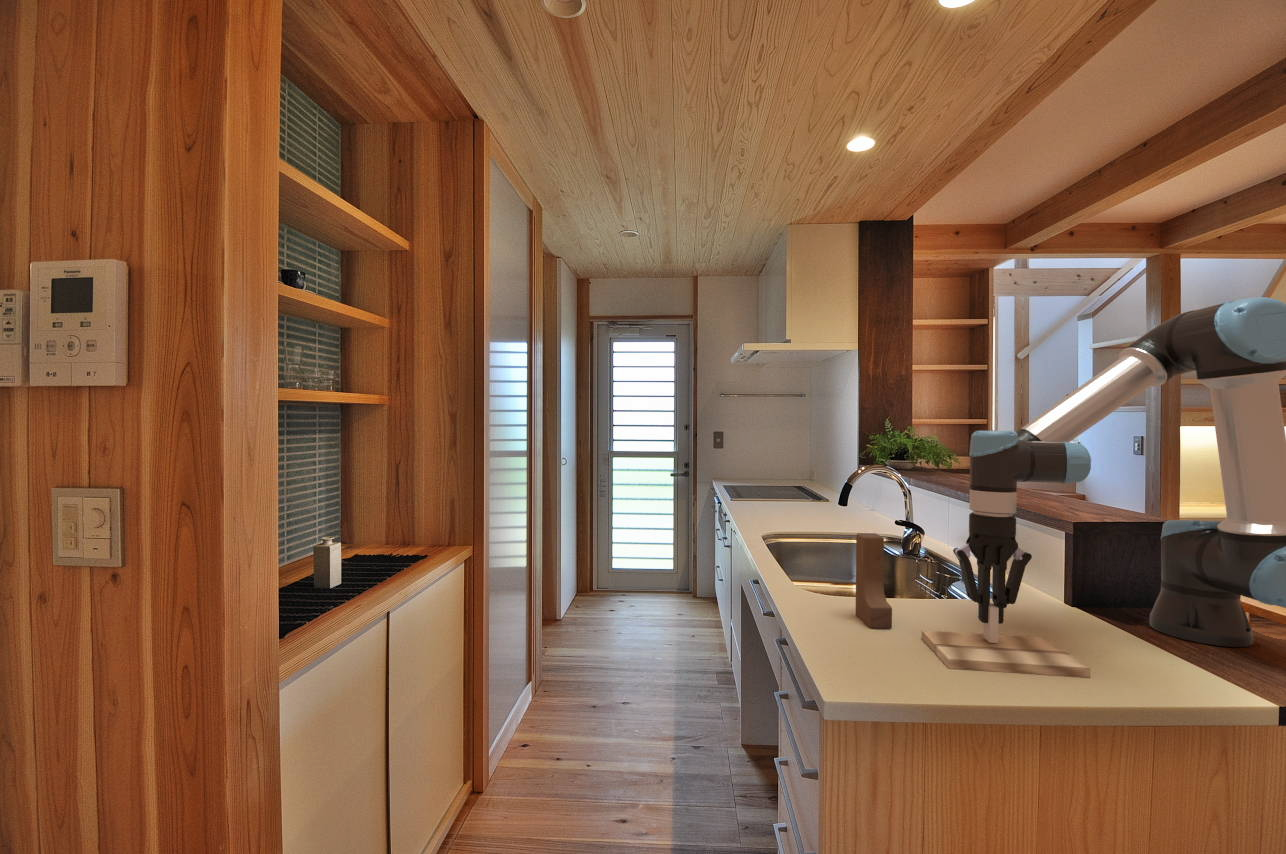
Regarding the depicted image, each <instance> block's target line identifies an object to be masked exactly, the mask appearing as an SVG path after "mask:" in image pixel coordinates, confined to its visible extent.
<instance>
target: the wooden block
mask: <svg viewBox="0 0 1286 854" xmlns="http://www.w3.org/2000/svg"><path fill="white" fill-rule="evenodd" d="M855 536H856V544H855V547H856V549H855V552H856V553H855V556H856V559H855V565H856V566H855V615H856V617H858V618H859V620H861V621H862V622H863V623H864V624H865V625H866V626H868V627H869V629H874V630H875V629H876V630H879V629H880V630H881V629H884V630H891V629H892V628H893V608H892V606H891V604H889V602H888V601H887V599H886V595H885V587H884V585H885V584H884V568H885V567H884V561H885V560H884V557H885V556H884V555H885V552H884V551H885V550H884V549H885V548H884V547H885V544H884V543H885V539H884V537H883V536H881V535H879V534H878V533H870V532H869V533H868V532H867V533H862V532H859V533H856V535H855Z"/></svg>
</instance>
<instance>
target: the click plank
mask: <svg viewBox="0 0 1286 854" xmlns="http://www.w3.org/2000/svg"><path fill="white" fill-rule="evenodd" d="M921 640H923V641H924V642H925V644H926V645H927V646H928V647H929V648H930V649H931V650H932V652H933V653H935V645H950V646H966V647H983V648H999V649H1016V650H1032V651H1049V652H1065V653H1067V652H1066V650H1063V648H1060V647H1059V646H1058V645H1056V644H1055V643H1053V642H1052V641H1051V640H1049V639H1048V638H1046V637H1042V636H1024V635H1006V634H998V643H989V642H988V641H987V640H986V639H985V638H983V633H974V632H973V633H972V632H956V631H954V632H953V631H940V630H939V631H938V630H921Z"/></svg>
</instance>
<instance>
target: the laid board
mask: <svg viewBox="0 0 1286 854" xmlns="http://www.w3.org/2000/svg"><path fill="white" fill-rule="evenodd" d="M1065 652H1066V651H1065ZM1065 652H1049V651H1032V650H1016V649H999V648H983V647H966V646H950V645H935V652H934V653H935V655H936V656H937V657H938V658H939V660H940V661H941V662H942V663H943V664H944V665H945V666H946V667H947V668H948V669H952V670H955V669H956V670H970V671H983V672H984V671H985V672H1000V673H1001V672H1002V673H1014V674H1015V673H1016V674H1027V675H1028V674H1031V675H1044V676H1045V675H1047V676H1062V677H1075V678H1076V677H1077V678H1090V679H1091V667H1090V666H1089V665H1087V664H1085V663H1083V662H1082V661H1081V660H1080V659H1077V658H1076V657H1074V656H1073V655H1072V654H1070V653H1069V652H1066V653H1065Z"/></svg>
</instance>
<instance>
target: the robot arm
mask: <svg viewBox="0 0 1286 854" xmlns="http://www.w3.org/2000/svg"><path fill="white" fill-rule="evenodd" d="M1194 371H1195V373H1196V374H1195V375H1196V380H1197V382H1198V383H1200V384H1201V385H1203V386H1205V387H1207V388H1208V389H1209V392H1210V398H1211V406H1212V407H1211V408H1212V413H1213V422H1214V423H1213V424H1214V430H1215V436H1216V443H1217V451H1218V459H1219V466H1220V475H1221V480H1222V481H1221V482H1222V489H1223V496H1224V504H1225V505H1224V506H1225V513H1226V517H1225V518H1224V519H1223V520H1201V519H1199V520H1197V519H1196V520H1193V519H1191V520H1190V519H1169V520H1167V521H1165V522H1163V524H1162V528H1161V536H1160V549H1161V550H1160V555H1161V556H1160V560H1161V562H1160V564H1161V565H1160V570H1161V571H1160V576H1161V577H1160V578H1161V579H1160V580H1161V581H1160V590H1159V591H1160V592H1159V594H1158V597H1157V598H1156V600H1155V602H1154V605H1153V608H1152V610H1151V611H1150V613H1149V626H1150V627H1151V628H1152V629H1153V630H1155V631H1157V632H1159V633H1163V634H1165V635H1166V636H1167V635H1168V636H1171V637H1173V638H1174V637H1175V638H1178V639H1181V640H1186V641H1189V642H1195V643H1199V644H1205V645H1211V646H1217V647H1218V646H1220V647H1226V648H1227V647H1229V648H1230V647H1231V648H1244V647H1251V646H1252V645H1253V644H1254V631H1253V629H1252V627H1251V624H1250V622H1249V619H1248V617H1247V614H1246V612H1245V609H1244V606H1243V605H1242V599H1241V598H1242V597H1244V598H1248V599H1252V600H1255V601H1258V602H1259V603H1261V604H1263V605H1269V606H1276V607H1280V608H1285V609H1286V429H1285V421H1284V415H1283V406H1282V400H1281V394H1280V393H1281V392H1280V386H1279V385H1280V384H1279V382H1280V381H1281V380H1282V379H1283V378H1284V377H1285V376H1286V303H1285V302H1284V301H1282V300H1280V299H1276V298H1273V297H1264V296H1260V297H1259V296H1258V297H1257V296H1256V297H1250V298H1243V299H1241V298H1239V299H1236V300H1232V301H1227V302H1224V303H1220V304H1216V305H1211V306H1208V307H1204V308H1200V309H1196V310H1195V309H1194V310H1190V311H1185V312H1182V313H1180V314H1177V315H1174V316H1172V317H1171V318H1169V319H1167V320H1165V321H1163V322H1161V323H1159V324H1158V325H1157V326H1155V327H1154V328H1152V329H1151V330H1149V331H1147V332H1146V333H1145V334H1144V335H1142V336H1141V337H1139V338H1138V339H1136V340H1135V341H1134V342H1131V344H1129V345H1128V346H1126V347H1125V348H1123V349H1122V350H1121V351H1120V352H1119V354H1118V359H1117V360H1116V361H1115V362H1113V363H1112V364H1110V365H1109V366H1107V367H1106V368H1104V369H1103V370H1102V371H1100V372H1099V373H1097V374H1096V375H1094V376H1093V377H1092V378H1091V379H1088V381H1086V382H1085V383H1084V384H1082V385H1081V386H1079V387H1078V388H1076V389H1075V390H1073V391H1072V392H1070V393H1069V394H1068V395H1067V396H1065V397H1063V398H1062V399H1060V400H1059V401H1058V402H1056V403H1055V404H1054V405H1052V406H1051V407H1050V408H1048V409H1046V410H1045V411H1044V412H1042V413H1041V414H1039V415H1037V416H1036V417H1035V418H1034V419H1032V420H1031V421H1029V422H1027V424H1025V425H1024V426H1022V427H1021V428H1020V429H1018V430H1017V431H1014V430H976V431H974V432H972V434H971V437H970V441H969V442H970V443H969V444H970V445H969V454H968V457H969V501H968V502H969V504H968V505H969V507H968V509H969V510H970V511H971V512H970V514H969V515H968V533H969V534H968V538H967V539H966V541H965V544H964V545H962V546H961V547H960V548H959V547H956V548H953V550H952V553H953V554H954V555H955V557H956V558H957V560H958V563H959V567H960V572H961V574H962V580H963V583H964V587H965V590H966V591H965V592H966V597H967V598H968V599H970V601H972V602H973V603H977V604H978V608H977V609H978V613H977V614H978V616H977V617H978V620H979V621H980V622H981V623H982V624H983V627H982V634H983V638H985V639H986V640H987V641H988V642H989V643H998V635H999V625H1000V624H1001V625H1003V623H1004V620H1005V619H1004V614H1005V613H1004V612H1005V609H1006V608H1007V607H1008V605H1010V604H1011V605H1014V604H1016V602H1017V598H1018V595H1019V591H1020V588H1021V584H1022V580H1023V577H1024V574H1025V573H1024V572H1025V570H1026V566H1027V565H1028V563H1029V562H1030V561H1031V560H1032V559H1033V558H1032V557H1033V555H1032V554H1031V553H1030V552H1027V551H1024V550H1023V549H1021V548H1020V547H1019V544H1018V542H1017V539H1016V536H1017V518H1016V516H1014V515H1013V514H1016V513H1017V496H1018V493H1017V491H1018V489H1017V488H1018V482H1019V483H1025V482H1026V483H1027V482H1029V483H1050V484H1051V483H1053V484H1054V483H1057V484H1063V485H1065V484H1069V483H1073V484H1074V483H1081V482H1083V481H1085V480H1086V479H1087V477H1088V476H1089V475H1090V473H1091V469H1092V457H1091V455H1090V452H1089V450H1088V448H1086V446H1085V445H1083V444H1082V443H1079V442H1071V441H1073V440H1075V439H1076V438H1077V437H1079V436H1080V435H1082V434H1083V433H1085V432H1087V431H1088V430H1089V429H1090V428H1092V427H1093V426H1095V425H1096V424H1098V423H1099V422H1100V421H1102V420H1104V419H1105V418H1106V417H1108V416H1109V415H1110V414H1112V413H1114V412H1115V411H1117V410H1119V409H1120V408H1121V407H1122V406H1124V405H1126V404H1127V403H1128V402H1130V401H1131V400H1132V399H1134V398H1136V397H1137V396H1138V395H1139V394H1141V393H1142V392H1144V391H1145V390H1147V389H1148V388H1150V387H1160V386H1162V385H1164V384H1165V383H1166V382H1168V381H1170V380H1172V379H1174V378H1175V377H1178V376H1181V375H1184V374H1187V373H1192V372H1194ZM970 552H971V553H972V555H973V556H974V558H975V559H976V565H977V582H976V579H975V575H974V569H973V566H972V562H971V560H970V558H971V553H970ZM1012 557H1013V560H1012V562H1011V565H1010V569H1009V572H1008V576H1007V579H1006V571H1007V568H1008V561H1009V560H1010V559H1011V558H1012ZM991 570H992V575H991ZM991 577H992V583H991ZM976 583H977V584H976ZM991 584H992V585H991ZM991 586H992V589H991ZM991 590H992V592H991ZM991 596H992V598H991ZM1241 596H1242V597H1241ZM991 600H992V602H993V603H992V602H991Z"/></svg>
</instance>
